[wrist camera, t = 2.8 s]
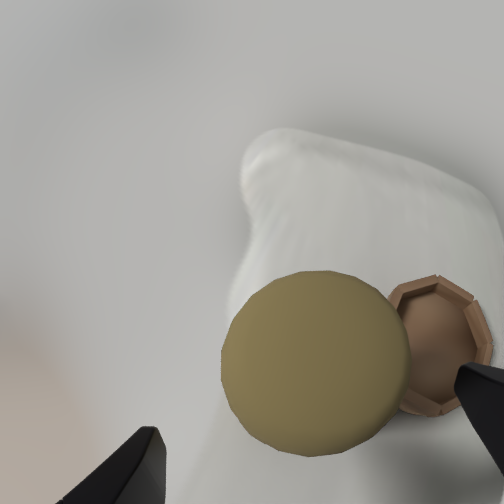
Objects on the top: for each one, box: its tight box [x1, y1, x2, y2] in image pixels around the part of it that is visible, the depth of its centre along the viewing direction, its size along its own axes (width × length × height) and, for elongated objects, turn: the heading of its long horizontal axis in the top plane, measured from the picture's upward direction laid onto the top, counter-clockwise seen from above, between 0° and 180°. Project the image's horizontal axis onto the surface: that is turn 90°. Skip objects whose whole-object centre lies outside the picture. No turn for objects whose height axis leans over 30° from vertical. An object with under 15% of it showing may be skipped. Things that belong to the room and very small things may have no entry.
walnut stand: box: [387, 274, 494, 417], centre depth 15 cm, size 9×9×2 cm
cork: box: [221, 271, 412, 457], centre depth 11 cm, size 6×6×11 cm
